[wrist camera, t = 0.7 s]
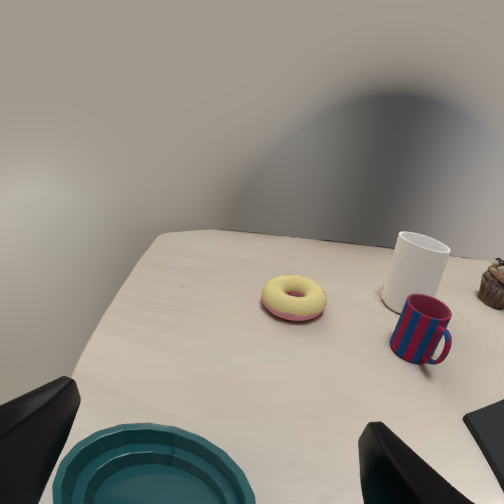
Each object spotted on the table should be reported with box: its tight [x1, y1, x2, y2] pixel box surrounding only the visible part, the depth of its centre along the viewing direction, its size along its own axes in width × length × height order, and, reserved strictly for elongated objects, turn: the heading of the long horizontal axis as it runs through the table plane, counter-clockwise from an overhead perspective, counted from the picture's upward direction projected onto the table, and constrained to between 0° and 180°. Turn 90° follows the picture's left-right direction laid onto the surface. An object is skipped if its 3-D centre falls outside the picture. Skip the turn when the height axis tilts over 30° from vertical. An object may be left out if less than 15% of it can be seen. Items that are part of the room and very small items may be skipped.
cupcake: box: [478, 258, 504, 310], centre depth 49 cm, size 10×10×10 cm
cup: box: [390, 294, 452, 365], centre depth 32 cm, size 7×10×7 cm
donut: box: [262, 275, 327, 321], centre depth 43 cm, size 10×5×9 cm
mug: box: [382, 232, 450, 314], centre depth 46 cm, size 10×12×12 cm
